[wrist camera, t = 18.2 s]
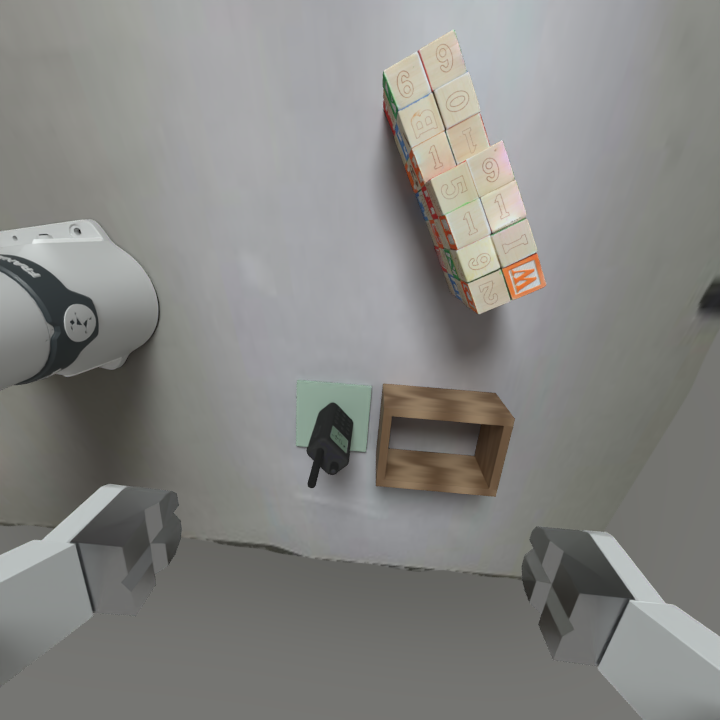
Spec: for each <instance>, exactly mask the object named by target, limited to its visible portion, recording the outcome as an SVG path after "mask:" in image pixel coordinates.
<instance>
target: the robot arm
mask: <svg viewBox="0 0 720 720" xmlns="http://www.w3.org/2000/svg"><path fill="white" fill-rule="evenodd" d="M79 229H80V230H81V234H80V233H79ZM157 320H158V301H157V296H156V292H155V289H154V287H153V284H152V282H151V280H150V278H149V277H148V275H147V274H146V272H145V271H144V269H143V268H142V267H141V266H140V264H139V263H138V262H137V261H136V260H135V259H134V258H133V257H131V256H130V255H129V254H128V253H126V252H125V251H124V250H122V249H121V248H119V247H118V246H117V245H115V244H114V243H113V242H112V241H111V240H110V238H109V237H108V235H107V234H106V233H105V231H104V230H103V229H102V227H101V226H100V225H99V224H98V223H97V222H95V221H94V220H91V219H84V220H76V221H69V222H62V223H55V224H48V225H41V226H34V227H27V228H20V229H13V230H6V231H0V391H1V390H3V389H5V388H8V387H10V386H12V385H22V384H27V383H31V382H34V381H37V380H42V379H45V378H47V377H50V376H52V375H54V374H59V375H63V376H65V377H71V376H75V375H77V374H80V373H83V372H86V371H88V370H91V369H94V368H97V367H101V368H105V369H109V370H114V369H117V368H120V367H121V366H122V365H123V364H124V363H125V361H126V359H127V357H128V355H129V354H130V353H131V352H132V351H133V350H135V349H137V348H138V347H140V346H142V345H143V344H144V343H145V342H146V341H147V340H148V339H149V338H150V337H151V335H152V334H153V332H154V330H155V327H156V324H157ZM178 506H179V503H178V497H177V493H175V492H173V491H168V490H160V489H152V488H144V487H136V486H123V485H115V484H107V485H104V486H102V487H100V488H99V489H98V490H97V491H96V492H95V493H94V494H92V495H91V496H90V497H89V498H88V499H87V500H86V501H85V502H84V503H82V504H81V505H80V506H79V507H78V508H77V509H76V510H75V511H74V512H72V513H71V514H70V515H69V516H68V517H67V518H66V519H65V520H63V521H62V522H61V523H60V524H59V525H58V526H57V527H56V528H55V529H53V530H52V531H51V532H50V533H49V534H48V535H47V536H46V537H45V538H44V539H43V540H32V541H30V542H28V543H26V544H23V545H21V546H19V547H17V548H15V549H13V550H10V551H8V552H6V553H4V554H1V555H0V687H1V686H2V685H4V684H5V683H6V682H8V681H9V680H10V679H12V678H13V677H14V676H16V675H17V674H18V673H20V672H21V671H22V670H23V669H25V668H26V667H27V666H29V665H30V664H31V663H33V662H34V661H35V660H36V659H38V658H39V657H40V656H41V655H43V654H44V653H46V652H47V651H48V650H49V649H51V648H52V647H53V646H55V645H56V644H57V643H59V642H60V641H61V640H62V639H64V638H65V637H66V636H68V635H69V634H70V633H72V632H73V631H74V630H75V629H77V628H78V627H79V626H81V625H82V624H83V623H84V622H86V621H87V620H88V619H90V618H91V617H92V616H93V613H102V614H115V615H129V616H136V615H137V614H138V612H139V610H140V609H141V607H142V606H143V604H144V603H145V601H146V600H147V598H148V596H149V595H150V593H151V592H152V590H153V589H154V587H155V586H156V579H155V574H156V573H158V572H160V571H161V570H163V569H164V568H166V567H167V566H168V565H169V564H170V562H171V560H172V559H173V557H174V555H175V554H176V551H177V548H178V545H179V542H180V539H181V531H182V527H181V520H180V519H179V518H178V517H177V516H176V515H175V514H174V511H175V510H176V509H177V507H178ZM529 540H530V542H531V544H532V546H533V549H532V550H530V551H529V552H528V553H526V554H525V556H524V559H523V563H522V581H523V585H524V590H525V593H526V595H527V598H528V600H529V603H531V605H532V606H533V607H534V608H536V610H537V611H539V613H541V617H540V620H539V624H538V625H539V627H540V630H541V632H542V635H543V637H544V639H545V641H546V644H547V647H548V649H549V651H550V654H551V656H552V659H553V660H556V661H563V662H571V663H578V664H585V665H592V666H598V670H599V671H600V672H601V673H602V674H603V676H604V677H606V679H607V680H608V681H609V682H610V683H611V684H612V686H613V687H614V688H615V689H616V690H617V691H618V692H619V693H620V694H621V696H622V697H623V698H624V699H625V700H626V701H627V702H628V703H629V705H630V706H631V707H632V708H633V709H634V710H635V711H636V712H637V713H638V715H639V716H640V717H642V719H643V720H720V636H718V635H717V634H715V633H714V632H712V631H711V630H709V629H708V628H707V627H705V626H704V625H702V624H701V623H700V622H698V621H697V620H695V619H694V618H692V617H691V616H689V615H688V614H687V613H685V612H684V611H682V610H681V609H679V608H678V607H677V606H675V605H672V604H666V603H665V602H664V601H663V600H662V598H661V597H660V596H659V594H658V593H657V592H656V590H655V589H654V588H653V587H652V585H651V584H650V583H649V582H648V580H647V579H646V578H645V577H644V575H643V574H642V573H641V571H640V570H639V569H638V568H637V566H636V565H635V564H634V562H633V561H632V560H631V559H630V557H629V556H628V555H627V554H626V552H625V551H624V550H623V548H622V547H621V546H620V545H619V543H618V542H617V541H616V539H615V538H614V537H613V536H611V535H610V534H608V533H607V532H599V531H586V530H582V531H580V530H572V529H560V528H549V527H538V526H536V527H535V529H534V530H533V531H532V533H531V536H530V539H529Z"/></svg>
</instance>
